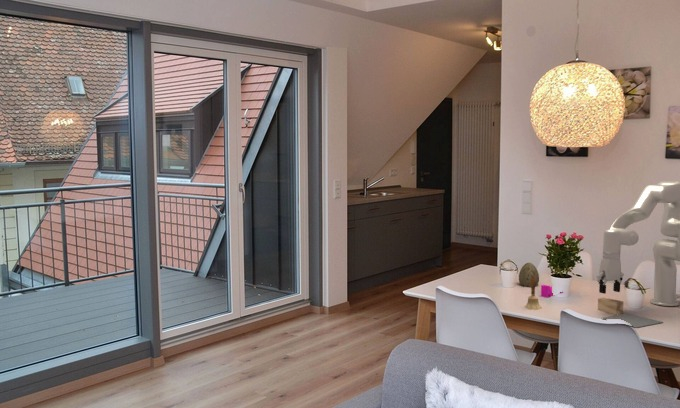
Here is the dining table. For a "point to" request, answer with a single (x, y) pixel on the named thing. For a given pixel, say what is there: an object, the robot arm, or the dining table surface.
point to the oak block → (610, 305)
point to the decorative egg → (528, 275)
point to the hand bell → (533, 297)
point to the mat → (634, 320)
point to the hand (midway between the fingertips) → (609, 292)
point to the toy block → (546, 291)
